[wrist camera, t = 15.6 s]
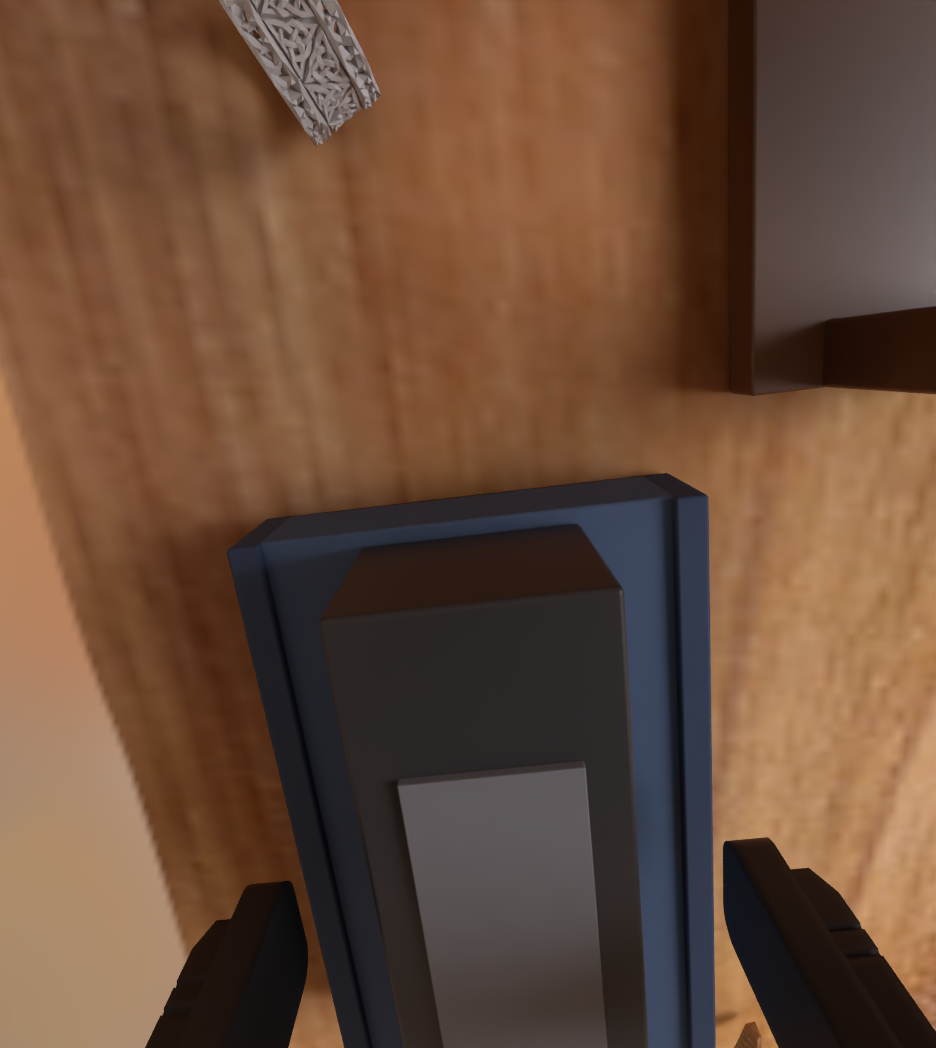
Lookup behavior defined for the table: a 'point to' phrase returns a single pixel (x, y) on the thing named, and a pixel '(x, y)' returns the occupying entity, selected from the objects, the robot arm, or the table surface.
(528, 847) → the remote
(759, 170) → the shelf
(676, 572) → the blue rectangular tray
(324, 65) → the ring
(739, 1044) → the fish
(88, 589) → the table surface
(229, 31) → the table surface
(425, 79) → the table surface
